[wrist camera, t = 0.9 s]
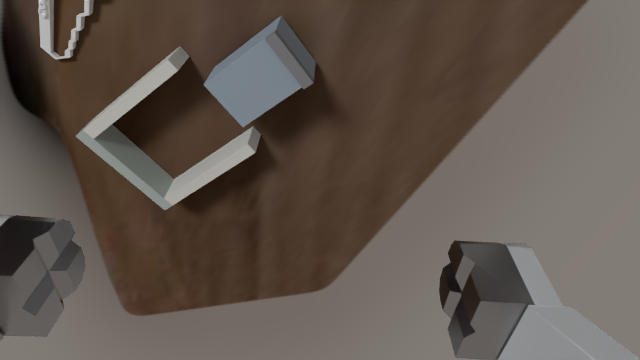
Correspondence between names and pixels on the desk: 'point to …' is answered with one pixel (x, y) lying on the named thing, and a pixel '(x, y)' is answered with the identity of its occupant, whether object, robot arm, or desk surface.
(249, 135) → the bay
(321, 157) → the desk surface
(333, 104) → the desk surface
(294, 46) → the grey-blue box
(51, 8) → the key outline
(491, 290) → the robot arm
